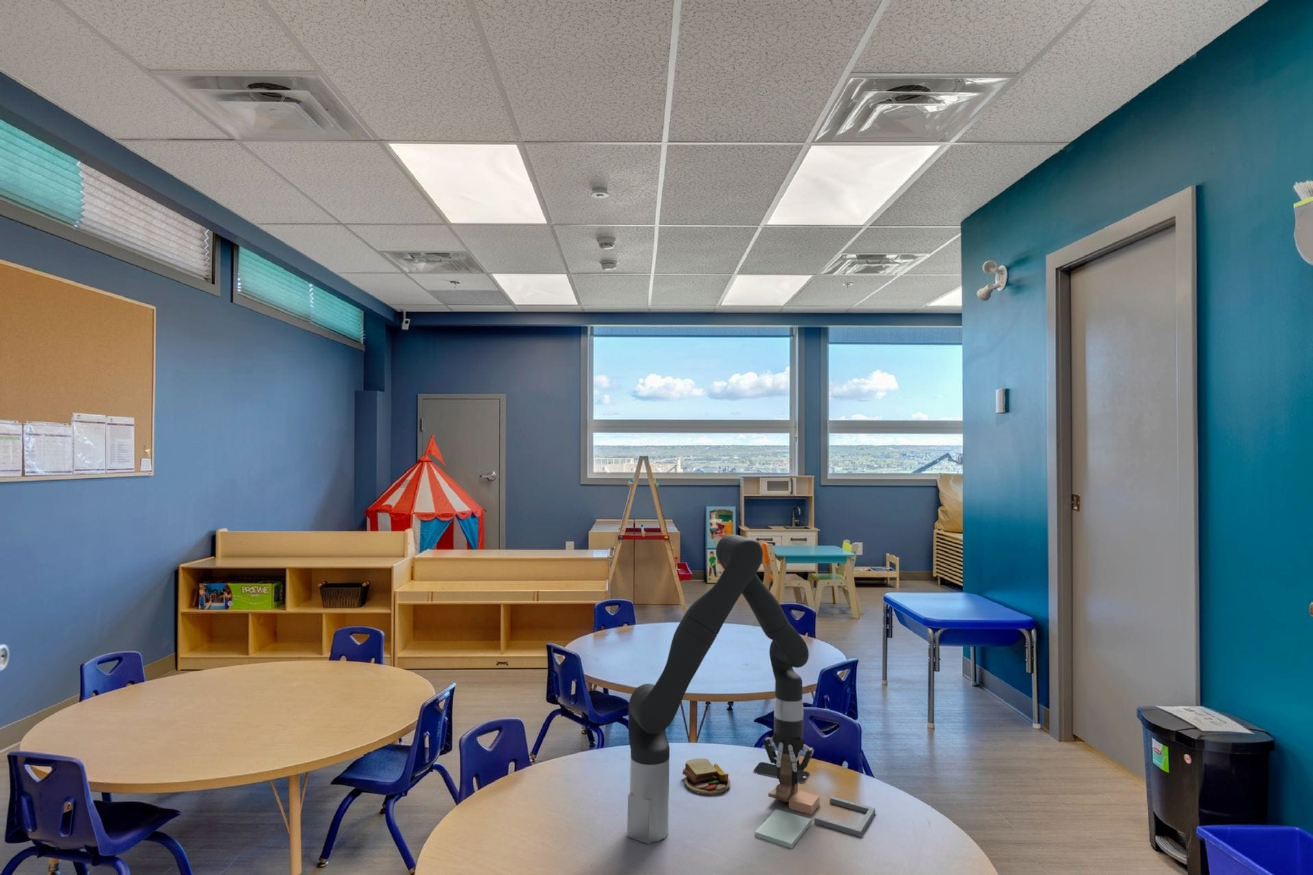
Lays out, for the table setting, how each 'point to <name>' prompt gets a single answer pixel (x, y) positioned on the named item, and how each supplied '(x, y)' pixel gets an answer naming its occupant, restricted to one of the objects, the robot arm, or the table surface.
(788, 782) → the brown block
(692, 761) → the toy sandwich meal
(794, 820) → the board
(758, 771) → the smartphone
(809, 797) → the tile
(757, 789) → the table surface
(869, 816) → the bay
